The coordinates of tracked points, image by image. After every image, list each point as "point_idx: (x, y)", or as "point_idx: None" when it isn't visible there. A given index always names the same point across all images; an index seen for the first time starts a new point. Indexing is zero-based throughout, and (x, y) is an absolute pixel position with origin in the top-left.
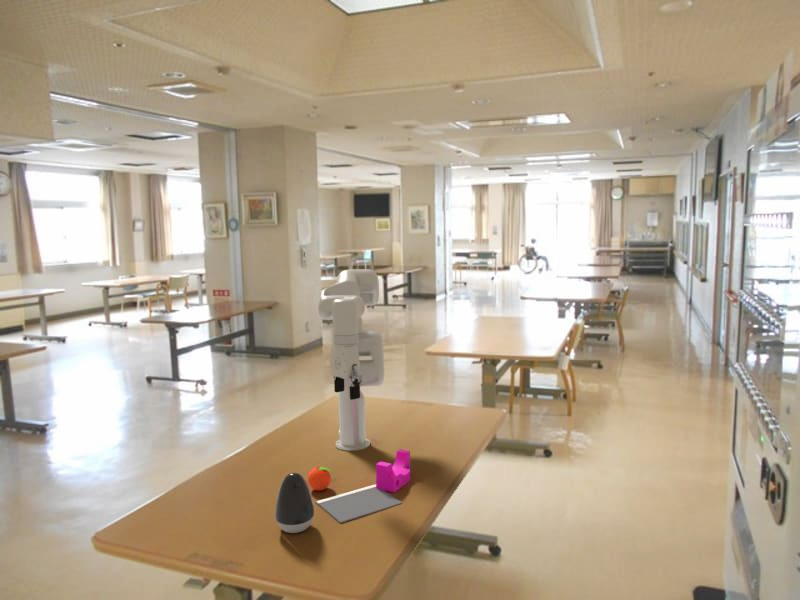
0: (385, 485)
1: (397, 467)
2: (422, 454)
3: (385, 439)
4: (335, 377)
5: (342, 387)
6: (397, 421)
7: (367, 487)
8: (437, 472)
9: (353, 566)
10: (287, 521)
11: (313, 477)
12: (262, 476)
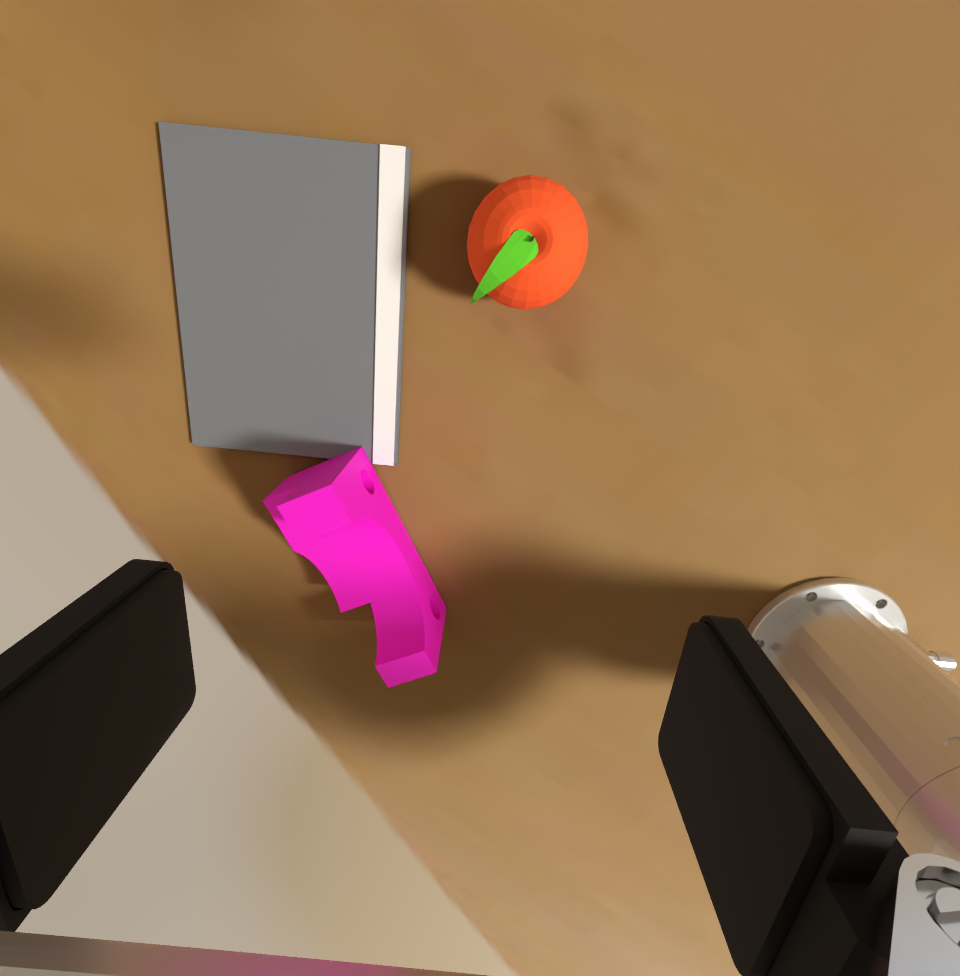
0: (316, 469)
1: (392, 591)
2: (520, 751)
3: None
4: (905, 928)
5: (683, 771)
6: None
7: (386, 422)
8: (354, 691)
9: None
10: None
11: (506, 185)
12: (890, 78)
